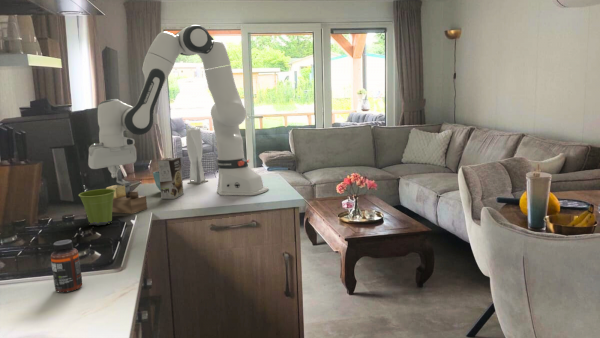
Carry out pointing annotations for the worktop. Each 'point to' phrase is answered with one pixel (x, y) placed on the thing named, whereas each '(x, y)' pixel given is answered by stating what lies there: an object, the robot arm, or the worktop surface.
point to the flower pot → (157, 179)
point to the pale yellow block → (118, 190)
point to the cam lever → (123, 183)
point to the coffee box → (170, 178)
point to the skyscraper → (195, 155)
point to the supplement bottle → (66, 266)
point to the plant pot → (98, 204)
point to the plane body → (129, 203)
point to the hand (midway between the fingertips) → (114, 177)
